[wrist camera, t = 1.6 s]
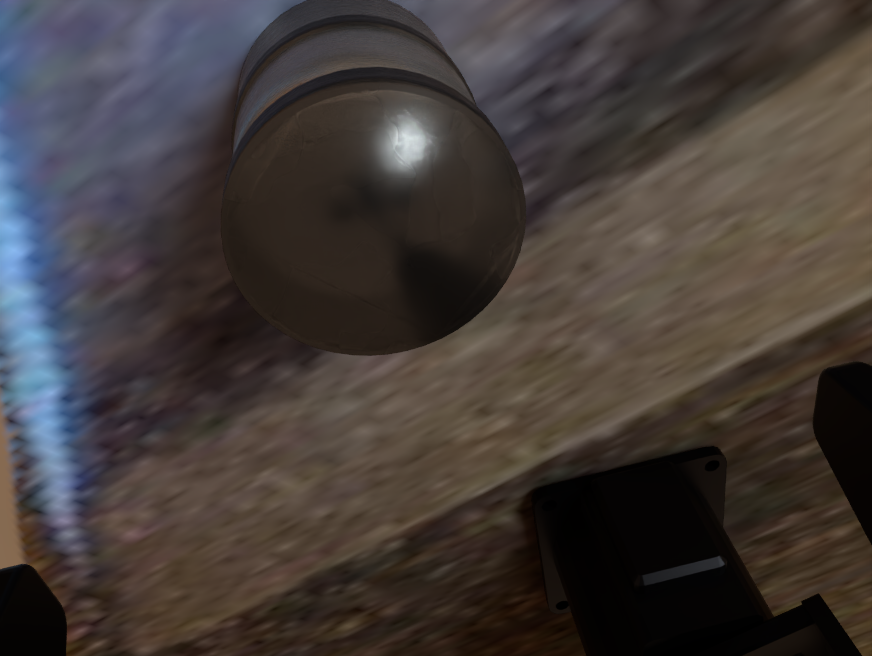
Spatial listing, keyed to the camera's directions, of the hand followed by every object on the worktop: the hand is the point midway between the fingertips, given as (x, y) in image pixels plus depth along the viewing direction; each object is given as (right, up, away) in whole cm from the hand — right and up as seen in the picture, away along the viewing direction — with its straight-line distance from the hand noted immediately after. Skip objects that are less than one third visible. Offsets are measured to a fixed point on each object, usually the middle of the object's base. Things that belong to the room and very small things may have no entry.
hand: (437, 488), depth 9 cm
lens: (-2, +7, +10) cm, 12 cm away
